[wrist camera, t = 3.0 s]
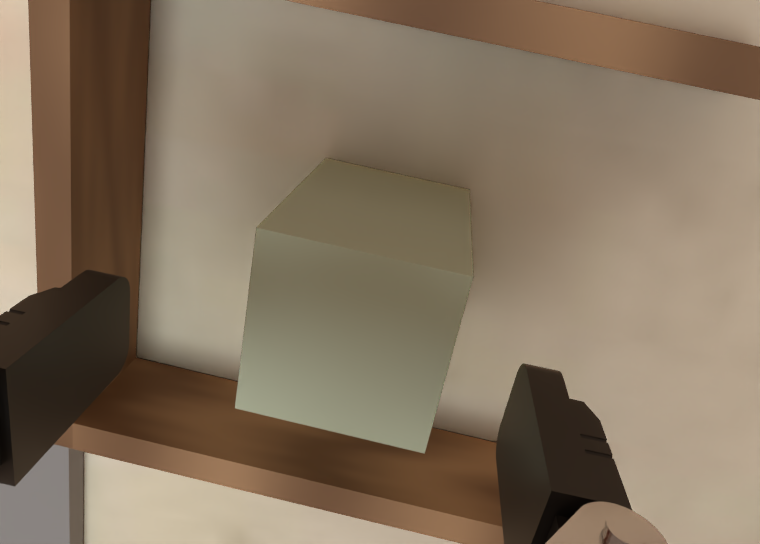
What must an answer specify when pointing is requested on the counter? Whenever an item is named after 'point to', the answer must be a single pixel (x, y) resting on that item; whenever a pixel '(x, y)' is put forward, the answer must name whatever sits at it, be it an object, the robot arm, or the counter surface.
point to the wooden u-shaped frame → (218, 395)
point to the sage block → (357, 303)
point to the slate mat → (45, 501)
